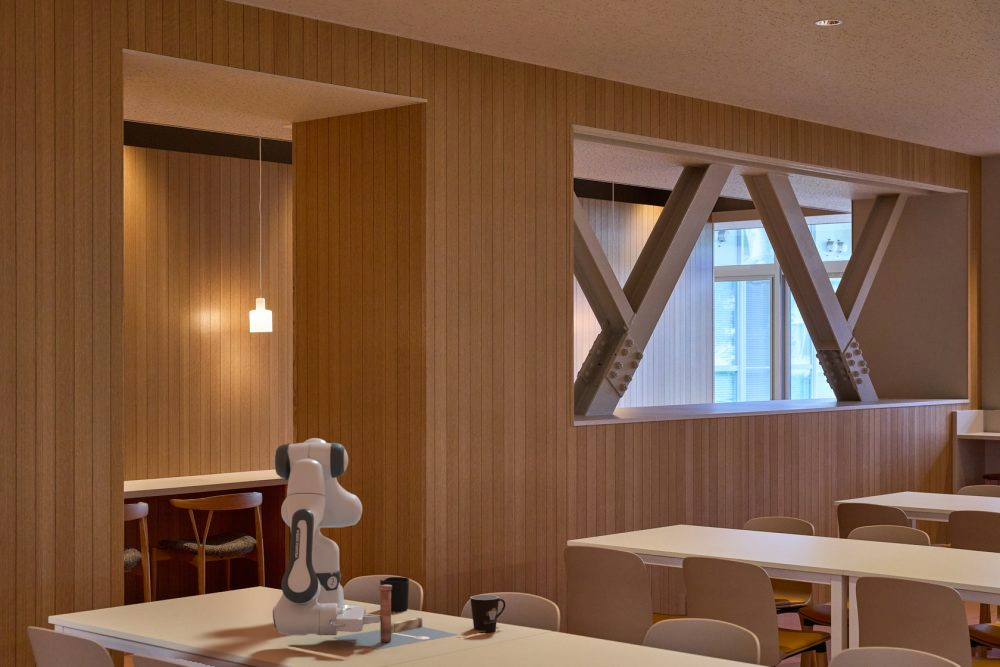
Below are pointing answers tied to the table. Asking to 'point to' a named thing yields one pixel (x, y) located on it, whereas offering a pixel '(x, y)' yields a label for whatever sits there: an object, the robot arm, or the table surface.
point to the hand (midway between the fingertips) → (380, 618)
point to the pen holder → (398, 592)
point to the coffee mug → (485, 612)
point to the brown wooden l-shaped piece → (385, 612)
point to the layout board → (395, 637)
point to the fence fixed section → (406, 624)
